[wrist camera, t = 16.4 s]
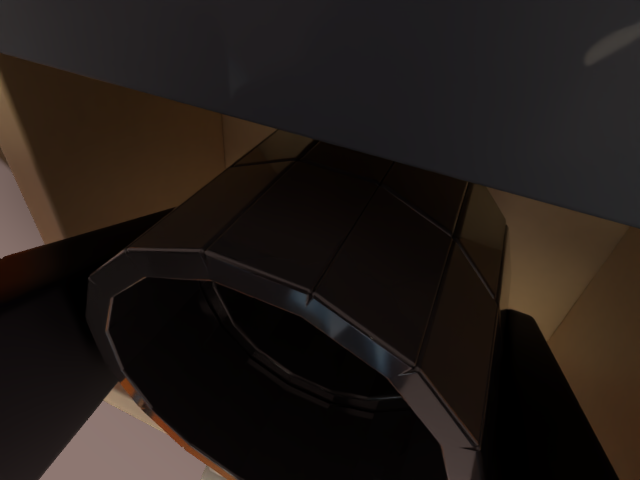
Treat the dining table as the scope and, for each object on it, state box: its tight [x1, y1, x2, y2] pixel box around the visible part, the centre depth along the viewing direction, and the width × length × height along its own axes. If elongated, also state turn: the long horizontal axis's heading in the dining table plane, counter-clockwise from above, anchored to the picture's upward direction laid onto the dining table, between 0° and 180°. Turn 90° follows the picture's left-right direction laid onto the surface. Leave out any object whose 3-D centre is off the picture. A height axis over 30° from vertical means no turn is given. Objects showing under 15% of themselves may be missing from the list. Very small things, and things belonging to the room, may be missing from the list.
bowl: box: [85, 129, 511, 480], centre depth 7 cm, size 6×6×4 cm
